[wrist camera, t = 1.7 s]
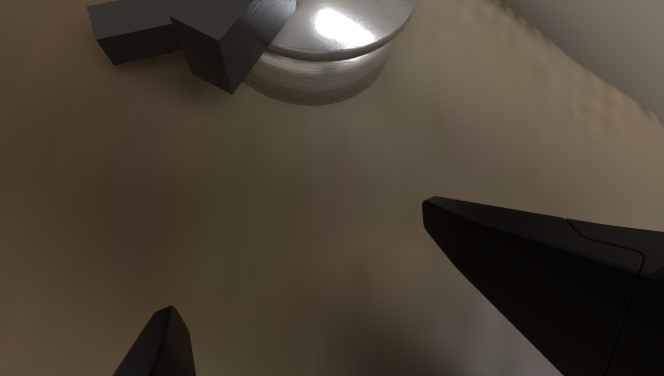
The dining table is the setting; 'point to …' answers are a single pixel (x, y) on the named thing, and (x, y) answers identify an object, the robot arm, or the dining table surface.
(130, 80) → the dining table surface
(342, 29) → the lid
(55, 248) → the dining table surface
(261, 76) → the pot
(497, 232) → the robot arm
